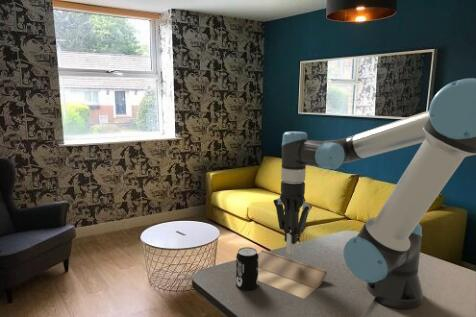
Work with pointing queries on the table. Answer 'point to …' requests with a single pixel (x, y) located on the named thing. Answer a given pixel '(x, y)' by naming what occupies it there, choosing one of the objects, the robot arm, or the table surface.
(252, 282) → the beverage can
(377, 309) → the table surface
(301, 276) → the loose plank
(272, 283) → the laid plank
